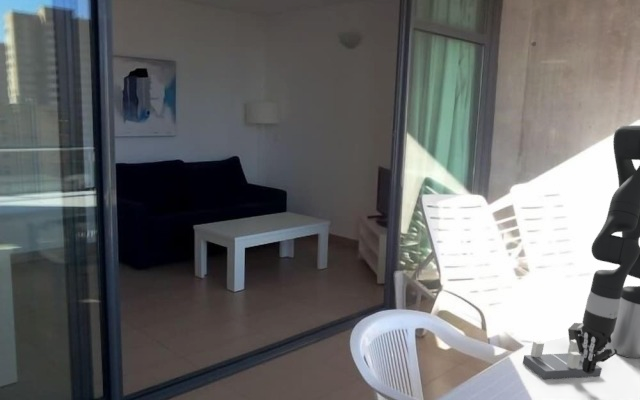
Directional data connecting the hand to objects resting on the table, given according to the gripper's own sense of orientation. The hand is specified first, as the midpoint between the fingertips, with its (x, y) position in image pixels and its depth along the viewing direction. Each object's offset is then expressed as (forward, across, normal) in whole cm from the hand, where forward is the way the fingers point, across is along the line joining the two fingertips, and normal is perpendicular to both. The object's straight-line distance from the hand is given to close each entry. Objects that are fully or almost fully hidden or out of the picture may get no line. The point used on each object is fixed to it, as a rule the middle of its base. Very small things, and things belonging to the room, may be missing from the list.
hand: (587, 372), depth 144 cm
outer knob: (+2, -12, -6) cm, 14 cm away
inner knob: (+2, -12, +7) cm, 14 cm away
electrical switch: (+4, -19, +15) cm, 24 cm away
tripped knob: (+2, -5, 0) cm, 6 cm away
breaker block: (+4, -9, 0) cm, 10 cm away
